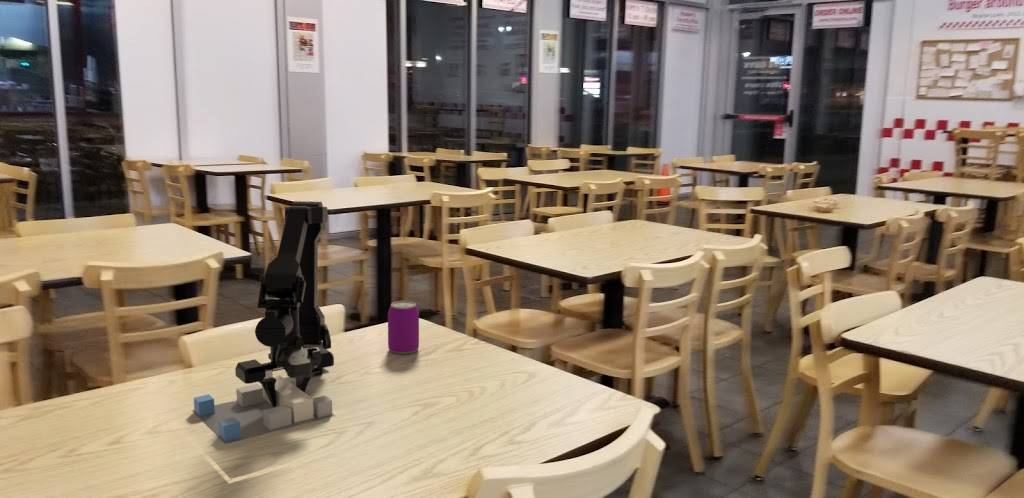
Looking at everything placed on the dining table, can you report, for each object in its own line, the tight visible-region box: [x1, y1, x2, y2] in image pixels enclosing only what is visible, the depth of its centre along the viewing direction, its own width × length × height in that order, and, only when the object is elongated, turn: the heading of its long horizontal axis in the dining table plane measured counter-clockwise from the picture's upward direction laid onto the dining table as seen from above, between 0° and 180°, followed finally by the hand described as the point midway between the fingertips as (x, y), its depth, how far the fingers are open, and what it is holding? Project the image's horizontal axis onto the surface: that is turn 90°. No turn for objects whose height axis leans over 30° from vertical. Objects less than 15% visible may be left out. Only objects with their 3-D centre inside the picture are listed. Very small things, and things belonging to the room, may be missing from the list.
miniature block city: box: [191, 376, 336, 445], centre depth 163 cm, size 19×22×4 cm
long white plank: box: [261, 374, 314, 423], centre depth 166 cm, size 16×4×4 cm, turn 39°
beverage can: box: [387, 300, 420, 355], centre depth 204 cm, size 8×8×12 cm
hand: (287, 404), depth 167 cm, fingers open, 5 cm apart
